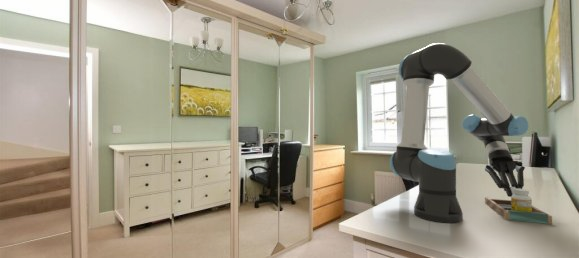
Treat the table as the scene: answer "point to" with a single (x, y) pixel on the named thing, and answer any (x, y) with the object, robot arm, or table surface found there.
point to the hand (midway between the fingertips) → (517, 204)
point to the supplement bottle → (521, 200)
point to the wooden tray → (518, 212)
